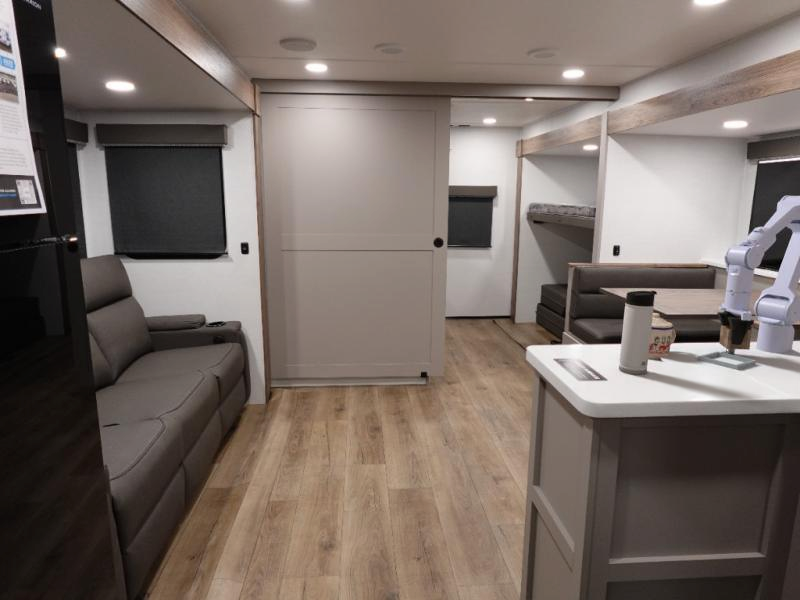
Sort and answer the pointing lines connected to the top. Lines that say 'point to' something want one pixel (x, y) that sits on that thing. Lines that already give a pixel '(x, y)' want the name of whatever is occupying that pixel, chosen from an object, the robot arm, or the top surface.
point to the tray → (739, 366)
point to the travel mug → (636, 332)
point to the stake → (732, 352)
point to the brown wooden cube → (726, 339)
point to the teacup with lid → (660, 337)
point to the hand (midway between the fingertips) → (731, 341)
